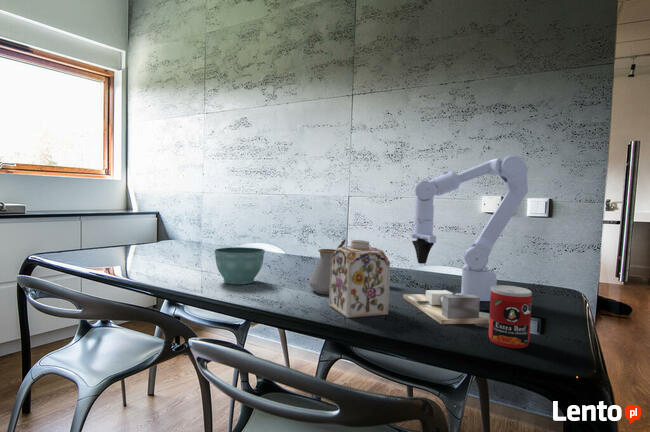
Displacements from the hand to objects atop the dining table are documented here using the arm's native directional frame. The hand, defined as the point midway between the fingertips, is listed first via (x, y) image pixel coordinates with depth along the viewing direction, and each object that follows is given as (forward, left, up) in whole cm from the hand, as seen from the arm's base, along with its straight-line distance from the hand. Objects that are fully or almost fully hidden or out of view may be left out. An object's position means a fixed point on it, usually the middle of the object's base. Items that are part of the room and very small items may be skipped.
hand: (421, 263), depth 122 cm
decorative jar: (+25, +19, -10) cm, 33 cm away
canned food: (-1, +43, -10) cm, 44 cm away
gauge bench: (+2, +18, -9) cm, 21 cm away
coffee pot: (+27, -6, -10) cm, 29 cm away
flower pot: (+57, -15, -10) cm, 60 cm away
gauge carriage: (+4, +20, -8) cm, 22 cm away
